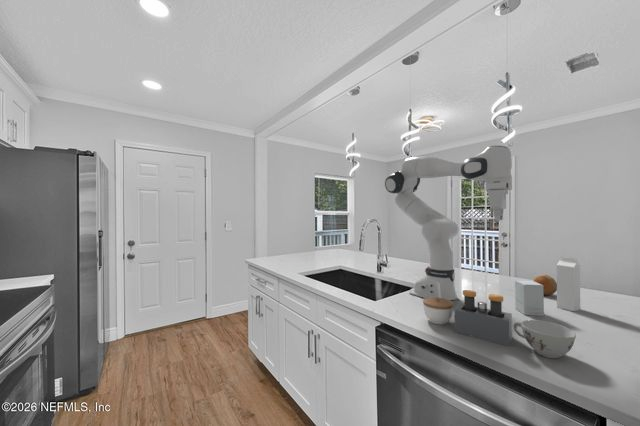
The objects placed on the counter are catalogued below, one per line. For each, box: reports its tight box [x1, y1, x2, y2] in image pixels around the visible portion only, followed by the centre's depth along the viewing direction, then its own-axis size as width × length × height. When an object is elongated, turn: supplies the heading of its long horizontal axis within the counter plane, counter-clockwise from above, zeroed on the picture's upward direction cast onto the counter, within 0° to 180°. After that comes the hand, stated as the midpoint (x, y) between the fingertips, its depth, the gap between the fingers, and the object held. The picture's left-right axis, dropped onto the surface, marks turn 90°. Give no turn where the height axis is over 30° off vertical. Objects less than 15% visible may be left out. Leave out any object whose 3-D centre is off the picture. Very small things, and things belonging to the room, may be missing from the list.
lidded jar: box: [422, 297, 454, 326], centre depth 105 cm, size 11×11×9 cm
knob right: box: [488, 293, 504, 318], centre depth 91 cm, size 4×4×9 cm
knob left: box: [462, 289, 477, 312], centre depth 96 cm, size 4×4×9 cm
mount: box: [454, 303, 513, 347], centre depth 94 cm, size 16×8×8 cm, turn 50°
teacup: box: [513, 319, 577, 359], centre depth 82 cm, size 15×12×8 cm
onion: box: [532, 274, 557, 296], centre depth 136 cm, size 10×10×10 cm
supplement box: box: [514, 280, 545, 317], centre depth 113 cm, size 7×7×13 cm
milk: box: [556, 256, 581, 312], centre depth 117 cm, size 6×6×22 cm
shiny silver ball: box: [477, 301, 488, 313], centre depth 93 cm, size 3×3×3 cm
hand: (498, 220), depth 107 cm, fingers open, 8 cm apart
